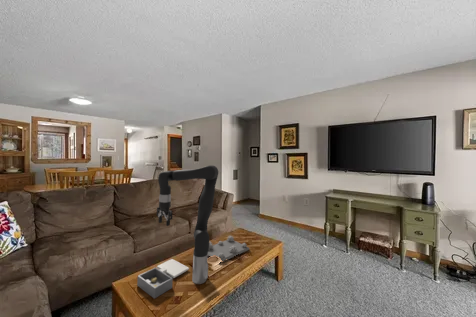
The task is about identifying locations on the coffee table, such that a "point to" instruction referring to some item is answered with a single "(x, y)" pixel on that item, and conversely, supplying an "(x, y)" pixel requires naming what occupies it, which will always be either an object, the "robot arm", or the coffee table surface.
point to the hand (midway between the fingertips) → (164, 224)
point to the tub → (154, 282)
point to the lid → (172, 268)
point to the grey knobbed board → (227, 248)
